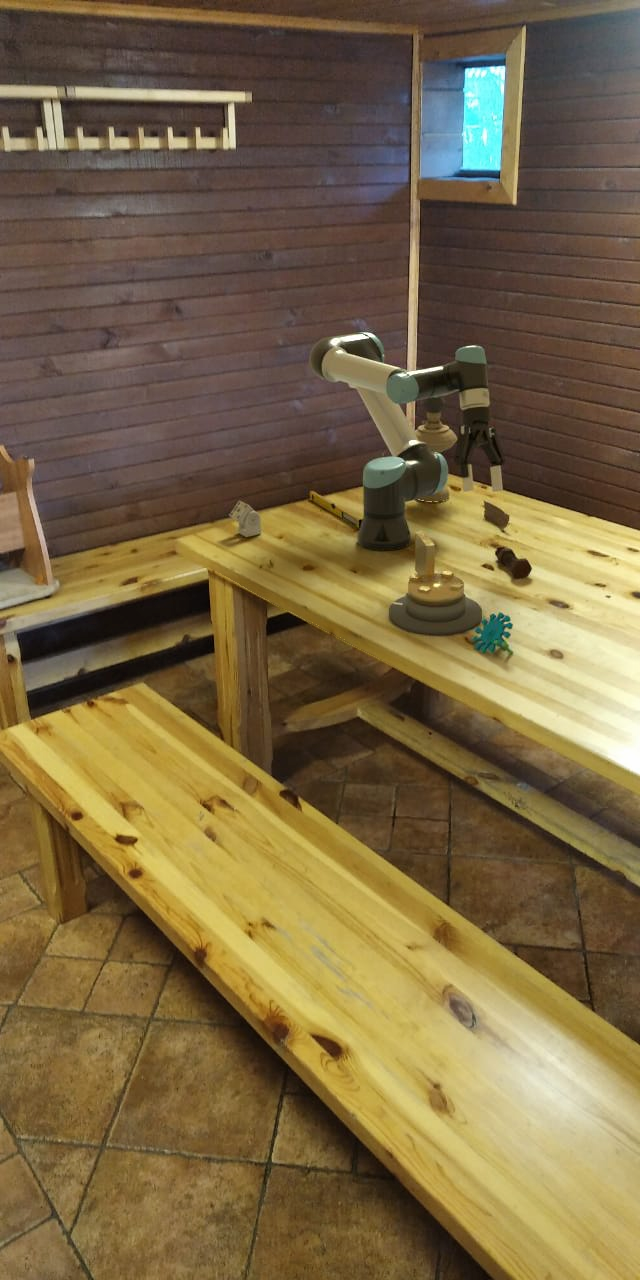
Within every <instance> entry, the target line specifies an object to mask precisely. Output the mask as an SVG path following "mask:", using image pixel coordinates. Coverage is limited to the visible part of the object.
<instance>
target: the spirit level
mask: <svg viewBox="0 0 640 1280" xmlns="http://www.w3.org/2000/svg"><path fill="white" fill-rule="evenodd" d="M308 494H309V500H311V501H312V500H313V501H312V502H314V503H316V504H318V505H319V506H321V507H323V508H324V509H326V510H327V511H329V512H331V513H332V512H333V513H332V514H334V515H336V516H337V515H338V516H337V517H339V516H340V517H339V518H340V519H342V518H343V519H342V520H344V521H346V522H347V521H348V523H349V522H350V523H349V524H351V525H352V524H353V525H352V526H354V525H355V527H356V526H357V527H358V529H359V528H360V527H361V523H362V520H363V518H360V517H358V515H355V514H353V513H351V512H350V511H348V510H347V509H345V508H343V507H341V506H339V505H335V502H333V501H330V500H329V499H327V498H326V497H324V496H322V495H321V494H318V493H317V492H316V491H314V490H310V491H309V492H308ZM357 527H356V528H357Z"/></svg>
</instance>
